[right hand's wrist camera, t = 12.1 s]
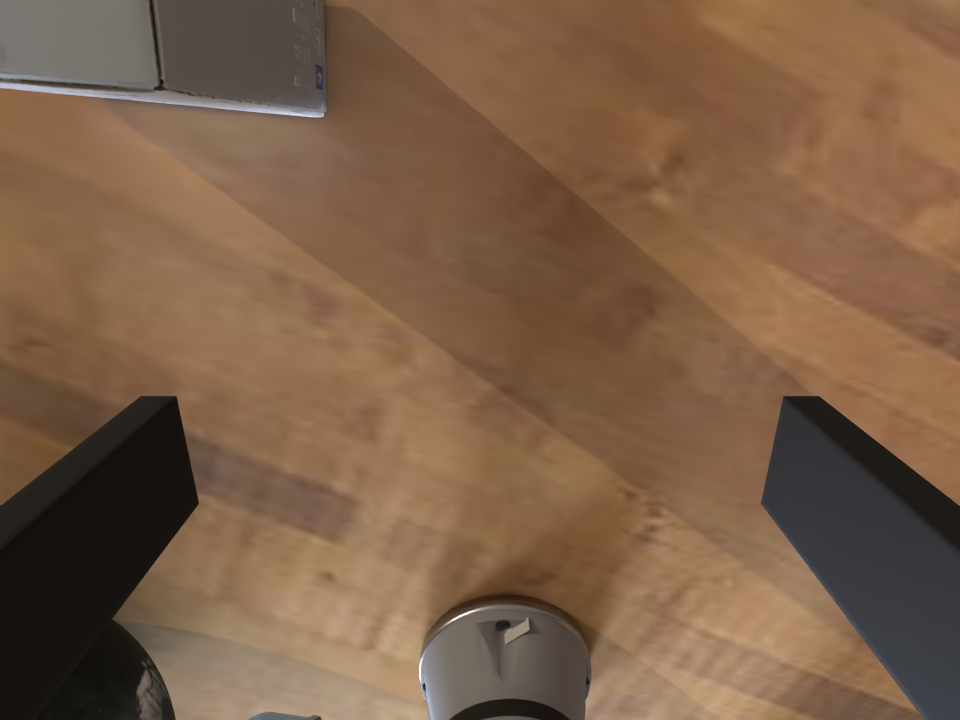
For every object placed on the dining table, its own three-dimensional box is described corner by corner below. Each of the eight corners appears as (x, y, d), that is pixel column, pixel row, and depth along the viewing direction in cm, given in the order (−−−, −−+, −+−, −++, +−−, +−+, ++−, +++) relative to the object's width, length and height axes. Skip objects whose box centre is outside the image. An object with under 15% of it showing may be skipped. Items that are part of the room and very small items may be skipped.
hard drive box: (326, -25, 34) (138, -215, 15) (329, 118, 37) (173, 105, 18) (53, -48, 33) (-482, -273, 15) (77, 98, 36) (-348, 63, 18)
